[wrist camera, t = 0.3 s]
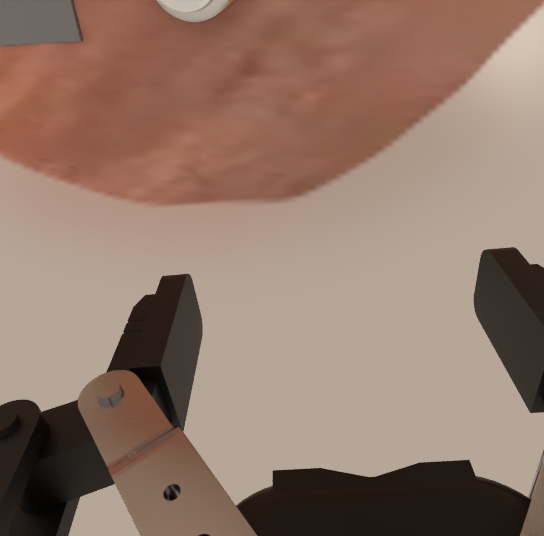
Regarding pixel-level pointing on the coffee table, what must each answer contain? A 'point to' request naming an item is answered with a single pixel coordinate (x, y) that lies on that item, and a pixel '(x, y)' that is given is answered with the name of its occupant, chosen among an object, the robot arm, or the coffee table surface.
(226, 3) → the supplement bottle
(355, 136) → the coffee table surface
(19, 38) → the mat
